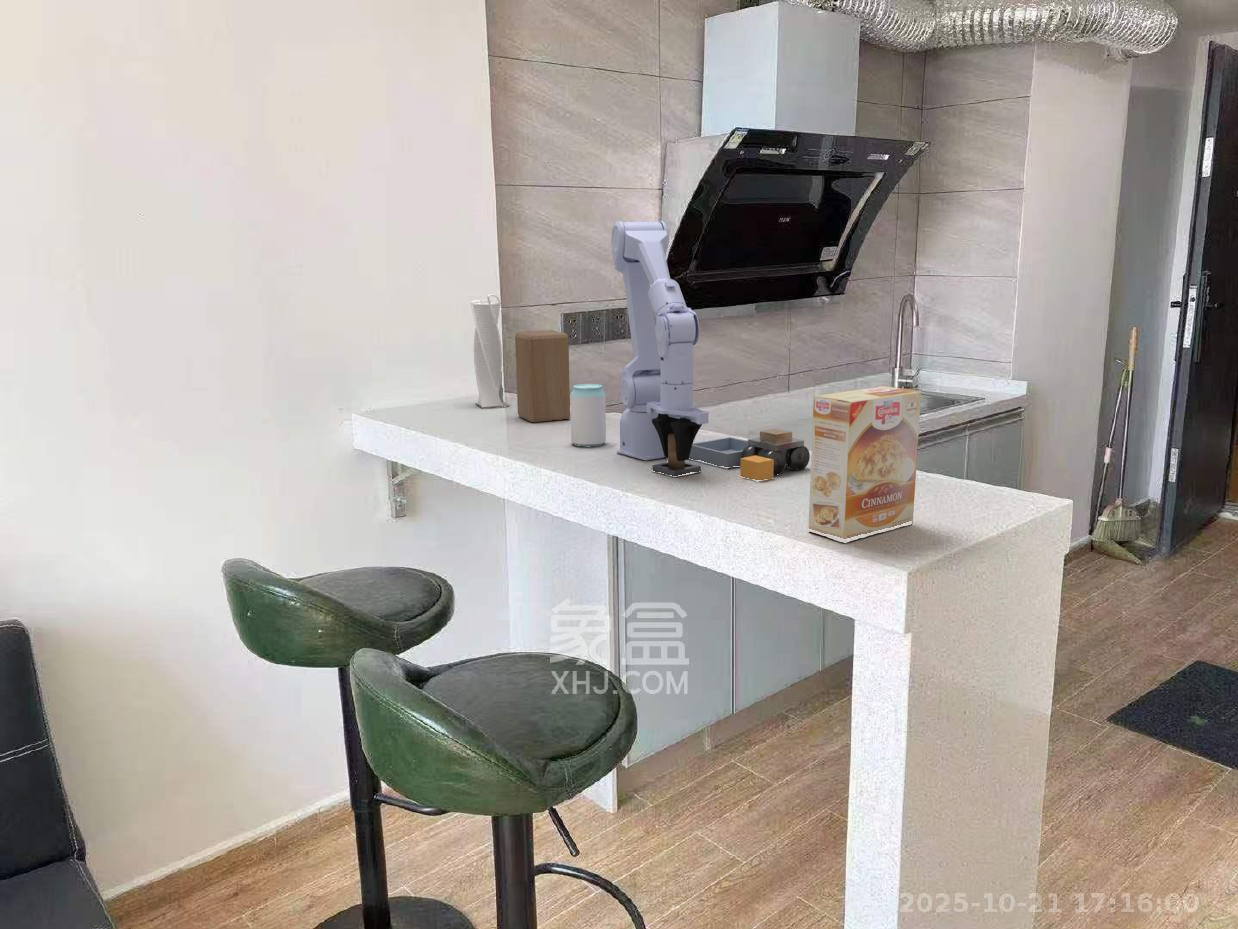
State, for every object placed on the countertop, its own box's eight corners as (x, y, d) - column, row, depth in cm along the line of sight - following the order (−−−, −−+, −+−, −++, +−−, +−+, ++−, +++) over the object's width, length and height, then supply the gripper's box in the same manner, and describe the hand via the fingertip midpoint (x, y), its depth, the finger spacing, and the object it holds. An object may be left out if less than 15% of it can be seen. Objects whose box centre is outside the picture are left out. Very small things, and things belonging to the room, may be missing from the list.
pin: (664, 467, 173) (664, 434, 171) (677, 465, 174) (677, 432, 173) (675, 470, 170) (675, 437, 169) (688, 468, 172) (688, 435, 171)
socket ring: (652, 471, 173) (652, 465, 173) (678, 466, 177) (678, 460, 176) (674, 477, 168) (674, 471, 168) (700, 472, 172) (700, 466, 172)
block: (516, 416, 229) (513, 331, 224) (556, 413, 233) (553, 329, 229) (531, 423, 220) (528, 335, 216) (571, 420, 224) (570, 332, 220)
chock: (740, 478, 168) (740, 458, 168) (755, 474, 171) (755, 455, 170) (758, 482, 165) (758, 462, 164) (773, 479, 167) (773, 459, 166)
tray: (687, 458, 183) (687, 444, 182) (730, 451, 189) (730, 436, 189) (727, 469, 174) (727, 453, 174) (770, 460, 181) (771, 445, 180)
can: (611, 442, 199) (611, 384, 196) (596, 449, 193) (595, 388, 190) (581, 439, 202) (580, 382, 199) (565, 446, 195) (563, 387, 193)
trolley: (740, 470, 173) (740, 432, 172) (781, 462, 180) (782, 425, 178) (768, 477, 168) (769, 438, 166) (809, 468, 174) (811, 430, 173)
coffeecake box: (845, 545, 131) (851, 401, 126) (805, 532, 136) (810, 394, 132) (915, 525, 139) (923, 390, 135) (876, 514, 145) (882, 384, 140)
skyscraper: (511, 407, 242) (507, 293, 235) (479, 410, 239) (474, 294, 232) (502, 402, 249) (498, 292, 243) (471, 405, 246) (466, 292, 240)
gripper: (633, 379, 172) (633, 454, 175) (686, 389, 161) (685, 469, 164) (663, 376, 176) (663, 449, 179) (718, 385, 165) (716, 463, 168)
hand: (676, 458), depth 172 cm, fingers closed on pin, 3 cm apart
